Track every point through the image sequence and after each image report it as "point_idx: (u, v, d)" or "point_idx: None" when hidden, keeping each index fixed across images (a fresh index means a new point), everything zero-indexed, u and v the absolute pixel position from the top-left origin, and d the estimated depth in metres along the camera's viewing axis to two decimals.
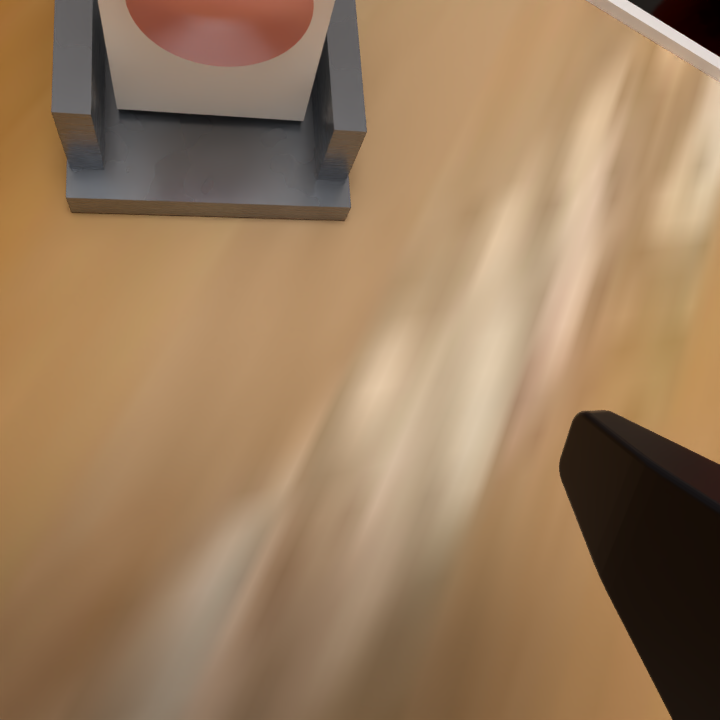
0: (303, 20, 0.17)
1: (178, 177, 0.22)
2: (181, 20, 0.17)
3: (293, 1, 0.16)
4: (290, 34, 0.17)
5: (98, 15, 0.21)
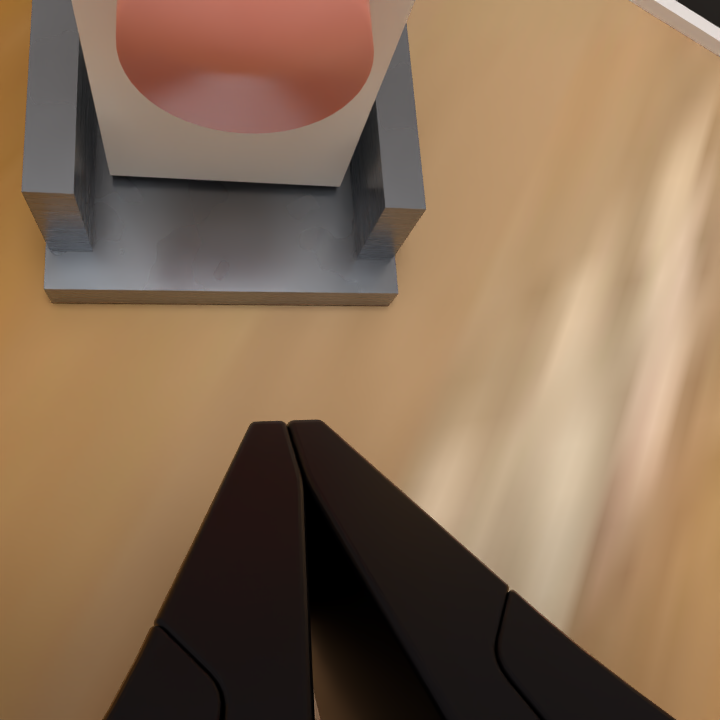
0: (357, 79, 0.13)
1: (186, 259, 0.18)
2: (193, 79, 0.12)
3: (346, 54, 0.12)
4: (338, 95, 0.13)
5: None
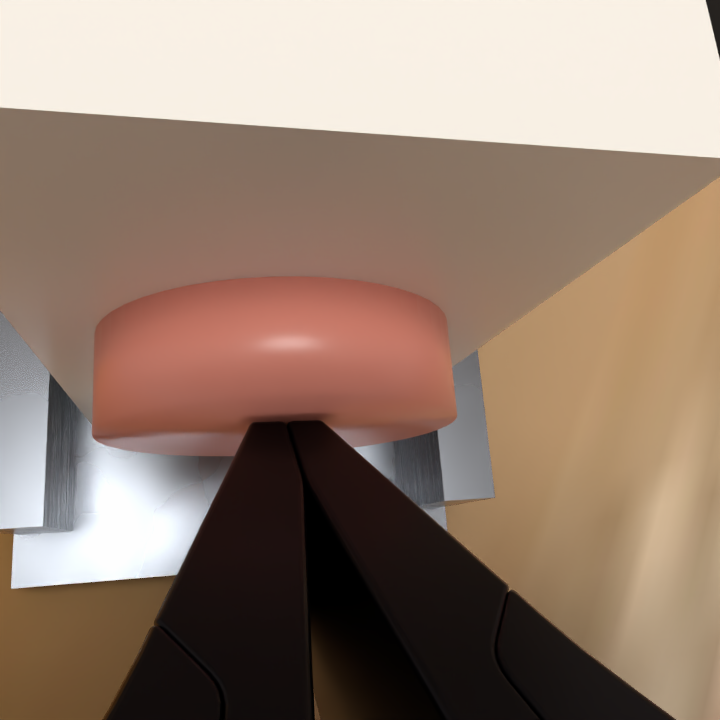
0: (427, 429, 0.09)
1: (189, 531, 0.14)
2: (203, 442, 0.09)
3: (417, 421, 0.09)
4: (398, 436, 0.10)
5: None
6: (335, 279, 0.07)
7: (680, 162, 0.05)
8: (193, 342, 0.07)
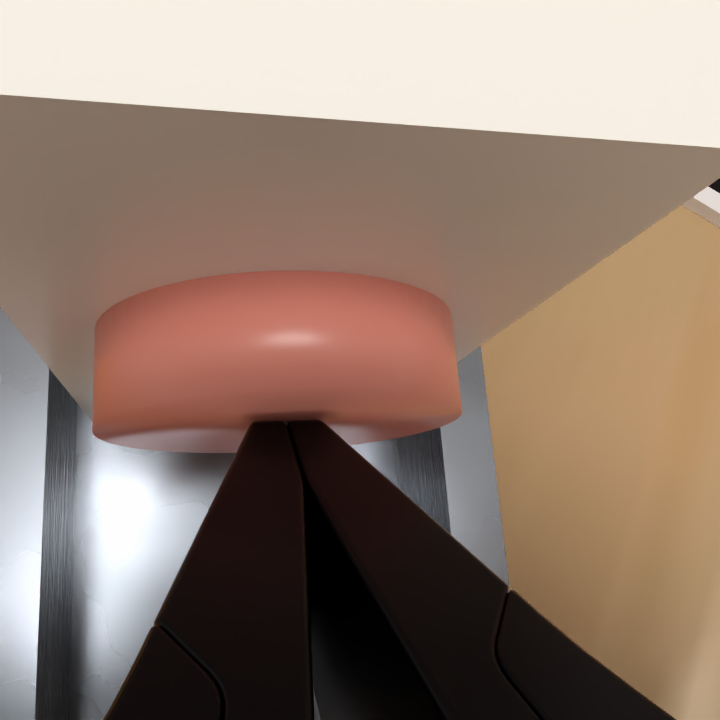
0: (432, 426, 0.09)
1: None
2: (205, 439, 0.09)
3: (422, 418, 0.09)
4: (402, 433, 0.10)
5: (56, 541, 0.12)
6: (338, 273, 0.07)
7: (694, 154, 0.05)
8: (193, 338, 0.07)
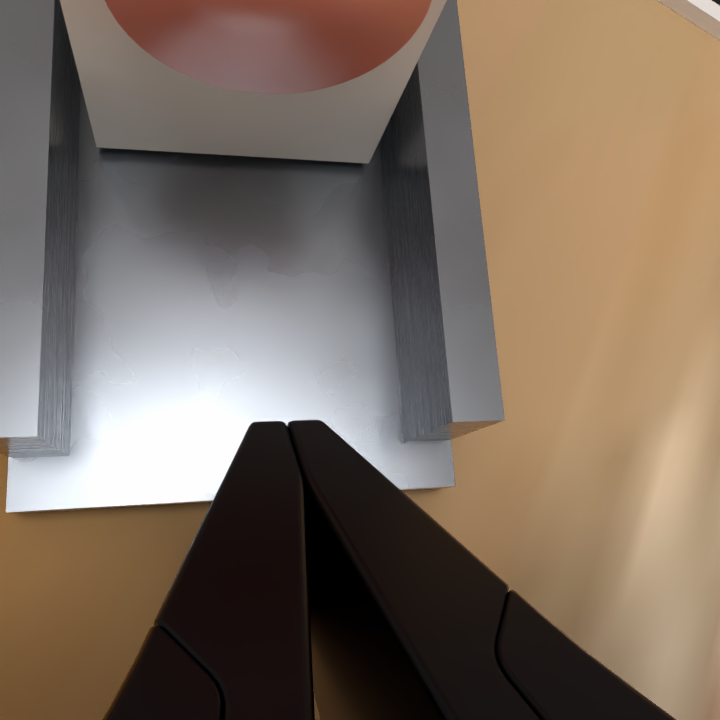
0: (410, 20, 0.10)
1: (189, 458, 0.14)
2: (198, 18, 0.10)
3: None
4: (383, 43, 0.10)
5: (60, 217, 0.13)
6: None
7: None
8: None
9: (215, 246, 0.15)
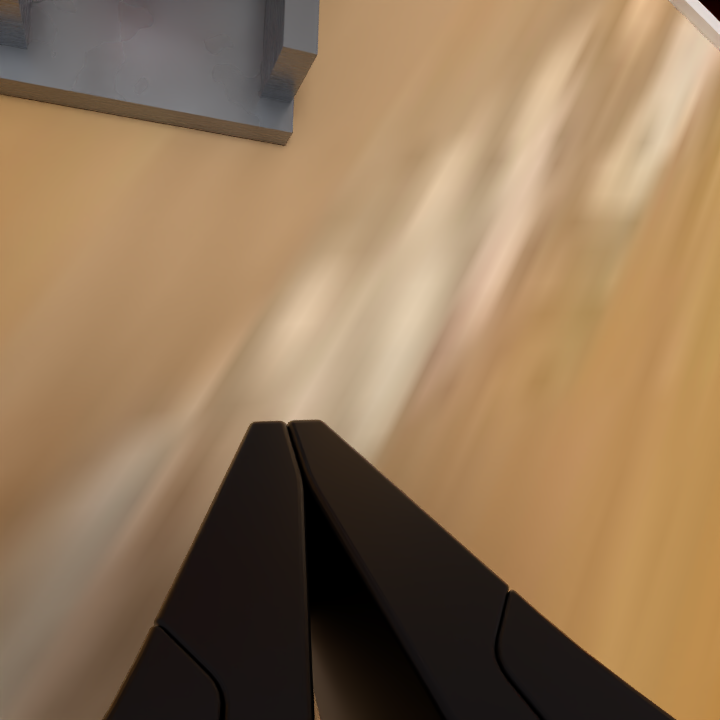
0: None
1: (110, 71, 0.21)
2: None
3: None
4: None
5: None
6: None
7: None
8: None
9: None
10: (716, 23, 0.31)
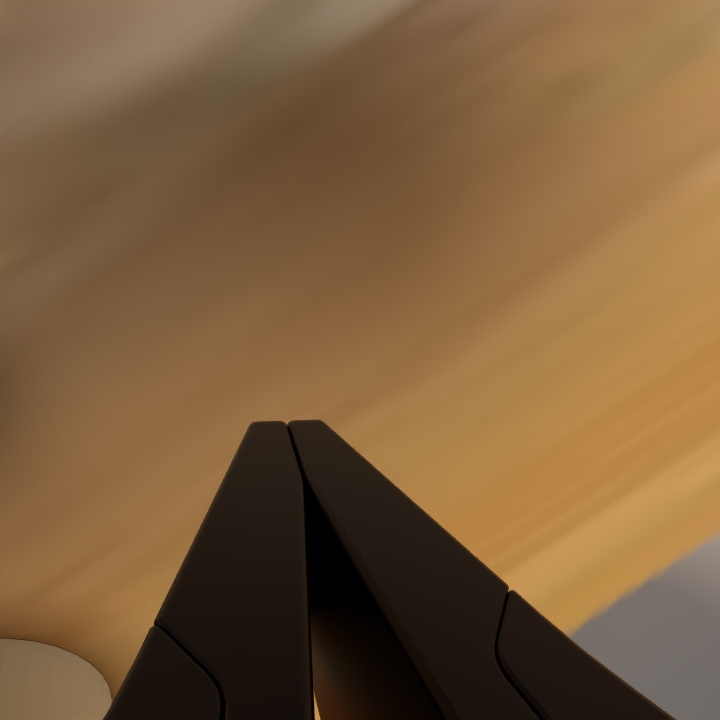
0: None
1: None
2: None
3: None
4: None
5: None
6: None
7: None
8: None
9: None
10: None
